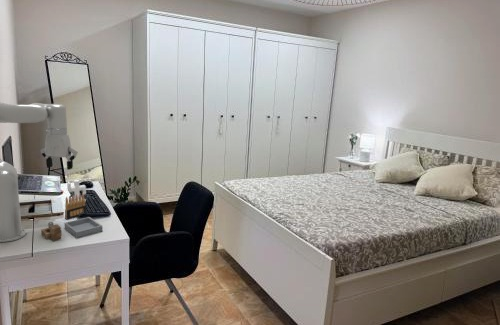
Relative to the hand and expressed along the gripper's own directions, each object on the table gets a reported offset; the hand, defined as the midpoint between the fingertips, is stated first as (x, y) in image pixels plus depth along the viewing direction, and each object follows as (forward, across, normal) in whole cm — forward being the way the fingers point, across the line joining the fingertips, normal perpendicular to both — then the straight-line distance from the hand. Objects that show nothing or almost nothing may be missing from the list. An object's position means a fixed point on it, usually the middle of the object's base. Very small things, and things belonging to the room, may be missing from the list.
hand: (59, 168), depth 162 cm
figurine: (+30, -10, +29) cm, 43 cm away
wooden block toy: (+30, +1, -9) cm, 31 cm away
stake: (+30, 0, -8) cm, 31 cm away
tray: (+30, +10, 0) cm, 32 cm away
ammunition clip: (+30, -2, +14) cm, 34 cm away
